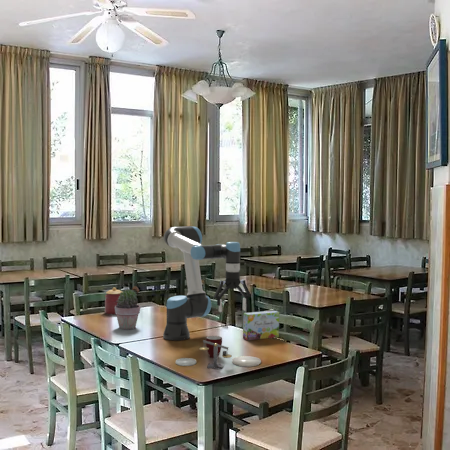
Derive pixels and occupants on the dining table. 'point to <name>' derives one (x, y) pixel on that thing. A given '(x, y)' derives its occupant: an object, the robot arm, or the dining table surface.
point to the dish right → (246, 361)
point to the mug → (211, 347)
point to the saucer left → (185, 361)
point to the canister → (111, 300)
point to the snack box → (261, 325)
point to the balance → (215, 365)
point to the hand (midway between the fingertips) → (232, 311)
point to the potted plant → (127, 309)
